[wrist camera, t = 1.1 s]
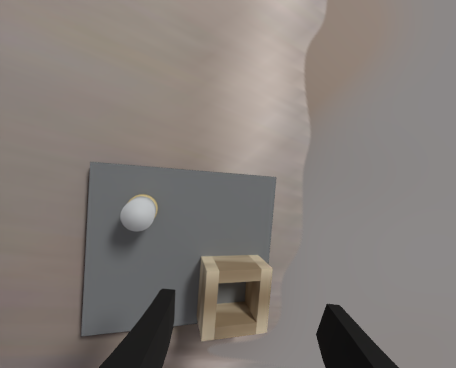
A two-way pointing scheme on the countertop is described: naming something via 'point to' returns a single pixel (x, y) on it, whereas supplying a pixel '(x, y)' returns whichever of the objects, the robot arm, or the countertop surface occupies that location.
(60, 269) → the countertop surface
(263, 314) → the collar
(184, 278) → the post mat
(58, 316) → the countertop surface
